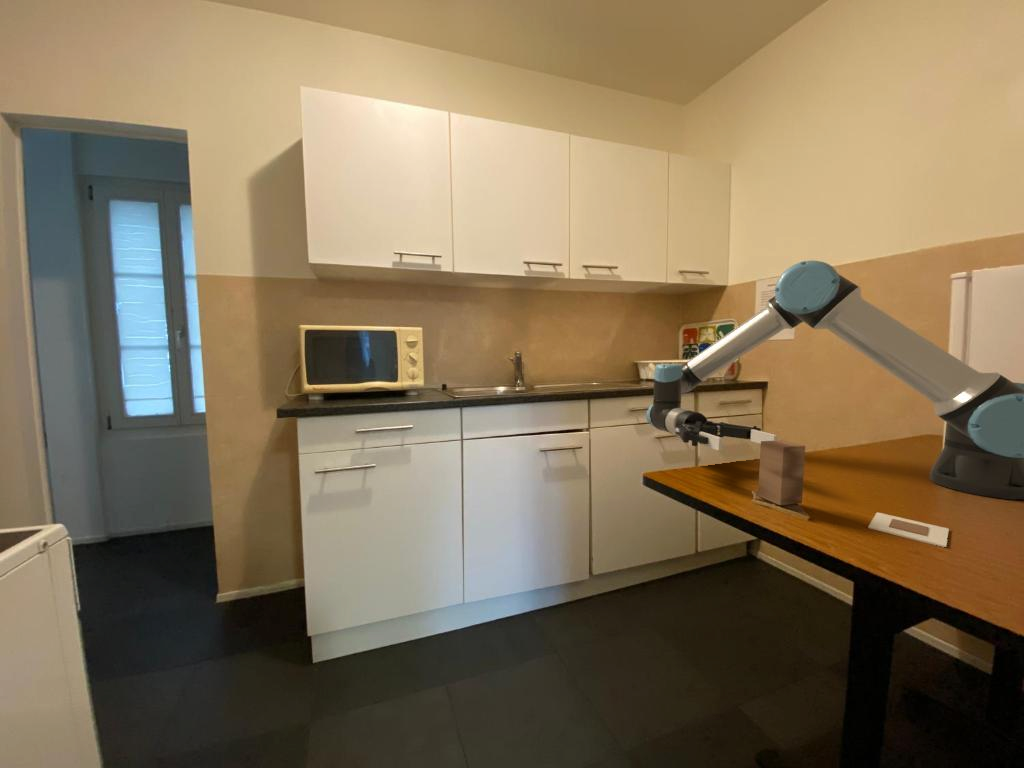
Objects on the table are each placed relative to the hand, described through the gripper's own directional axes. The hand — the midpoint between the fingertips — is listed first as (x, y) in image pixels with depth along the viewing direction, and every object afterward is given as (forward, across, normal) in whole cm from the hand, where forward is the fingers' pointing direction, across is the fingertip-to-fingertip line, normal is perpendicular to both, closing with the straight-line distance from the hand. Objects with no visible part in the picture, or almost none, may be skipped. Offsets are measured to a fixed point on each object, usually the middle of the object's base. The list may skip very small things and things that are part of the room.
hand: (748, 442), depth 86 cm
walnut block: (+9, +1, -9) cm, 13 cm away
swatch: (+22, -12, -10) cm, 27 cm away
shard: (+10, 0, -11) cm, 14 cm away
